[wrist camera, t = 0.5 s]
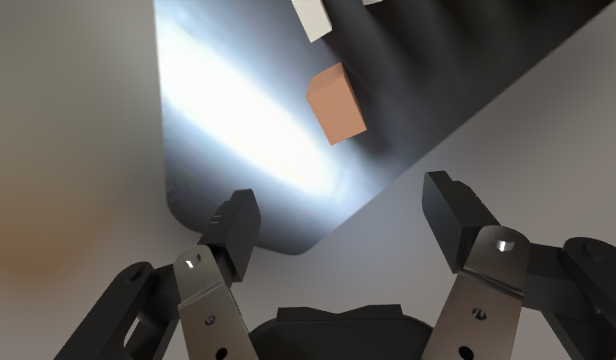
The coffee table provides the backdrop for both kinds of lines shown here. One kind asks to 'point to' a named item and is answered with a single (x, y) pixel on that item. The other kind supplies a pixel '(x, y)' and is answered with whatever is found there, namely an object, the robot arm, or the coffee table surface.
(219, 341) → the robot arm
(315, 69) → the coffee table surface
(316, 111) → the domino
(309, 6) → the domino
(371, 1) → the domino
